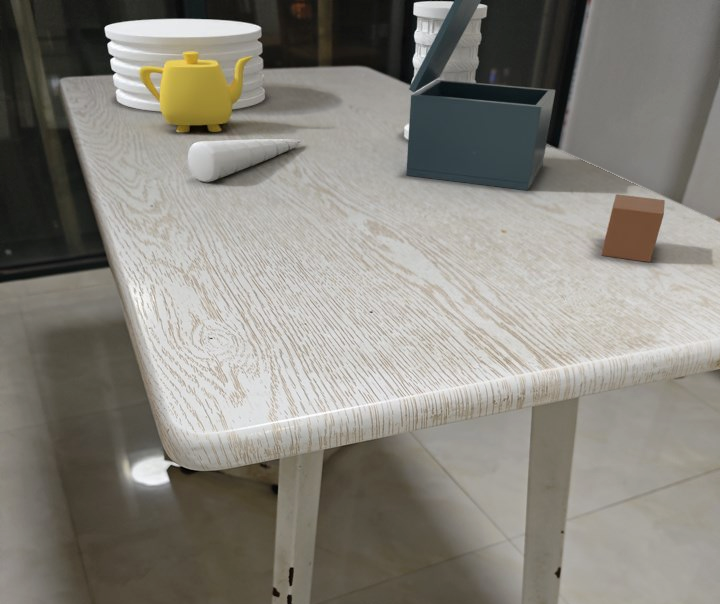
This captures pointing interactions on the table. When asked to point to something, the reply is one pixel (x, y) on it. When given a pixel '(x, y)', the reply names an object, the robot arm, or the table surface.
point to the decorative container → (466, 50)
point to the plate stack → (169, 41)
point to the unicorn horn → (232, 155)
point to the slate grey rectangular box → (478, 133)
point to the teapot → (195, 91)
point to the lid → (444, 42)
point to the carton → (633, 227)
